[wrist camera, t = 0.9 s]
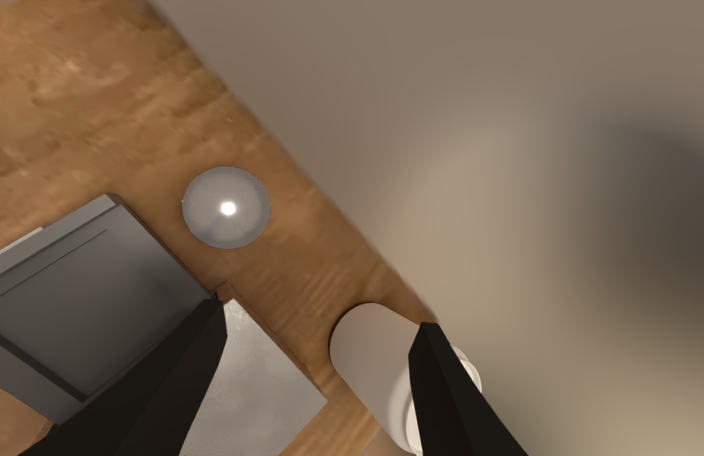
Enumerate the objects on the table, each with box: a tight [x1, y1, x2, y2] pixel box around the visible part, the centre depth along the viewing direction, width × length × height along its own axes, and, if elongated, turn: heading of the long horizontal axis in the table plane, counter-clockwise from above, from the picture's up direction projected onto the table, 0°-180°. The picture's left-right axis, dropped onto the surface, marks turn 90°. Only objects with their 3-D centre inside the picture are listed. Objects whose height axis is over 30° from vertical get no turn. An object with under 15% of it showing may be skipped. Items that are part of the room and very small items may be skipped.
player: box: [30, 280, 328, 456], centre depth 22 cm, size 14×12×5 cm
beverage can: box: [330, 303, 482, 456], centre depth 26 cm, size 8×8×12 cm
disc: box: [182, 166, 271, 249], centre depth 20 cm, size 5×5×2 cm
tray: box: [0, 193, 217, 426], centre depth 19 cm, size 11×12×3 cm
